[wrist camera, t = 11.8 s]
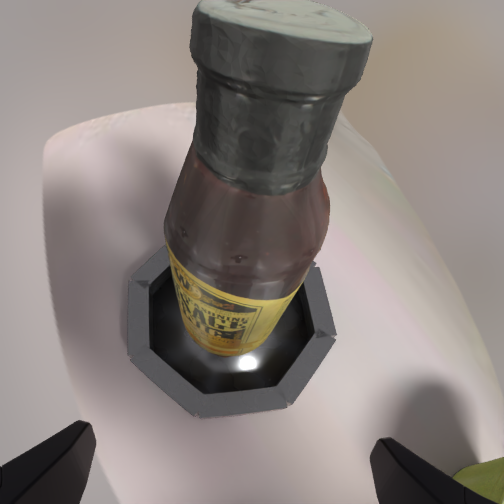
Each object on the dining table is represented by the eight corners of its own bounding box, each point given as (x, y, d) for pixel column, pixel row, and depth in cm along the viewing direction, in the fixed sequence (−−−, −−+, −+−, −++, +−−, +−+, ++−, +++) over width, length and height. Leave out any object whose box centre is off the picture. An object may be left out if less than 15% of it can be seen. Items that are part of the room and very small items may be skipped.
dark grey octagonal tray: (339, 397, 20) (351, 394, 18) (138, 420, 18) (130, 419, 16) (300, 234, 27) (306, 219, 25) (137, 245, 25) (131, 230, 23)
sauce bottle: (167, 313, 22) (87, 6, 5) (233, 266, 24) (265, -20, 8) (226, 383, 20) (277, 73, 3) (292, 327, 22) (442, 49, 5)
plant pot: (491, 431, 18) (562, 412, 11) (498, 509, 13) (564, 506, 6) (416, 475, 16) (495, 477, 9) (424, 559, 12) (492, 581, 4)
